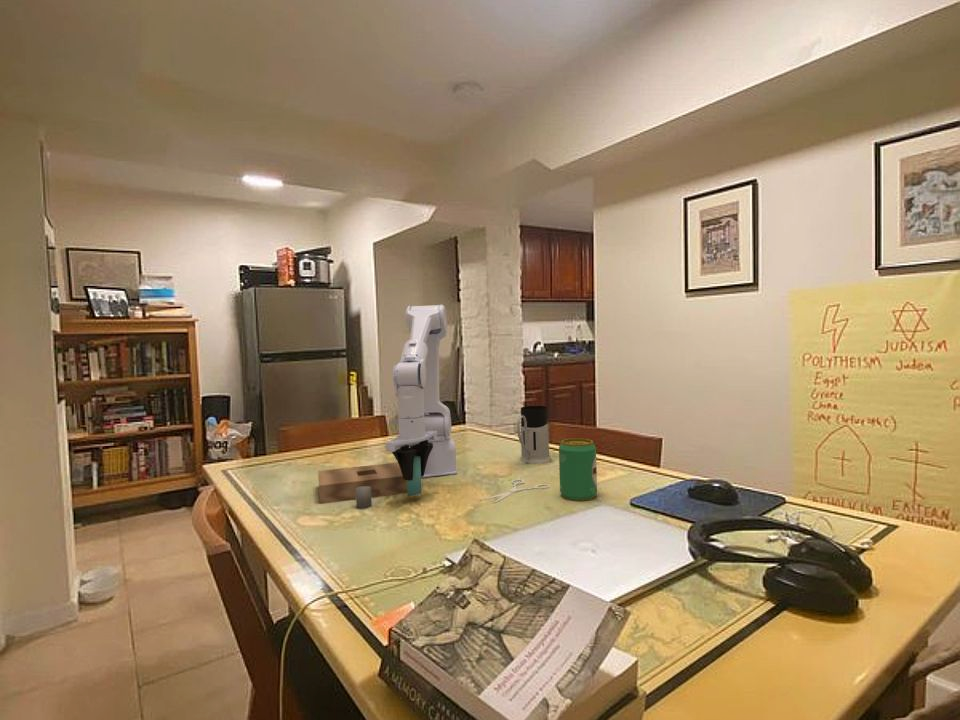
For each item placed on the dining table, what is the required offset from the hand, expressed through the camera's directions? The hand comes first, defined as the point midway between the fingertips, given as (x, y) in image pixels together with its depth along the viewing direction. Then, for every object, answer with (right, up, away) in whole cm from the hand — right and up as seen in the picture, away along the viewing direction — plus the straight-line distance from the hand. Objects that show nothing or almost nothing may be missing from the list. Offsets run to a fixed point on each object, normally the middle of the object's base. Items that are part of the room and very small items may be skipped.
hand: (413, 477), depth 116 cm
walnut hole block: (-12, -5, +10) cm, 17 cm away
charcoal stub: (-10, -6, -3) cm, 12 cm away
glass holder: (+29, -3, +31) cm, 43 cm away
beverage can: (+36, -4, -1) cm, 36 cm away
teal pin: (0, -3, 0) cm, 3 cm away
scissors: (+22, -5, +4) cm, 23 cm away
